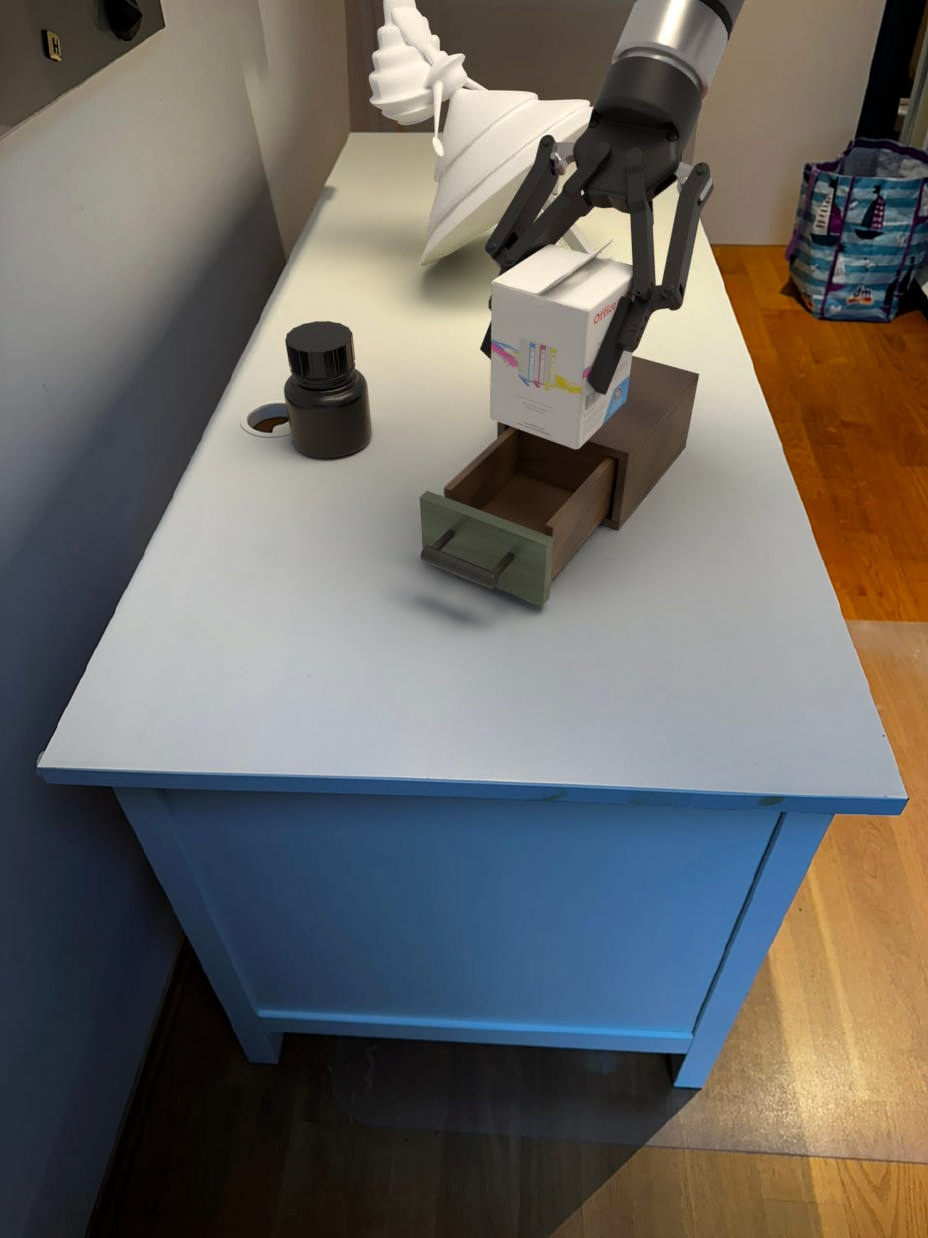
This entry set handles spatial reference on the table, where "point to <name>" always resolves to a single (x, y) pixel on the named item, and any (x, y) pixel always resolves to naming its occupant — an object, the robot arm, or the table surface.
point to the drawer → (518, 513)
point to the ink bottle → (326, 391)
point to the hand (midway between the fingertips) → (542, 371)
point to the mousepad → (556, 188)
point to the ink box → (556, 343)
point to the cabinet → (644, 432)
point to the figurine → (466, 130)
